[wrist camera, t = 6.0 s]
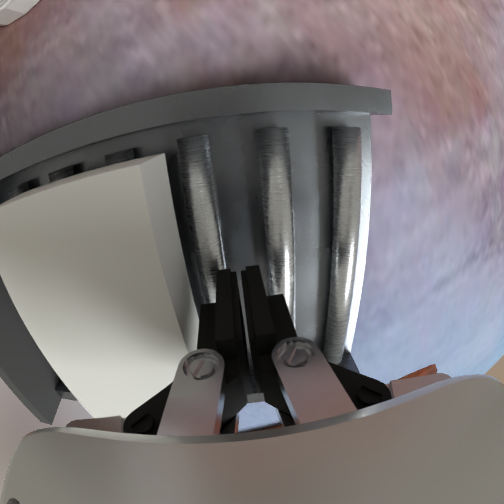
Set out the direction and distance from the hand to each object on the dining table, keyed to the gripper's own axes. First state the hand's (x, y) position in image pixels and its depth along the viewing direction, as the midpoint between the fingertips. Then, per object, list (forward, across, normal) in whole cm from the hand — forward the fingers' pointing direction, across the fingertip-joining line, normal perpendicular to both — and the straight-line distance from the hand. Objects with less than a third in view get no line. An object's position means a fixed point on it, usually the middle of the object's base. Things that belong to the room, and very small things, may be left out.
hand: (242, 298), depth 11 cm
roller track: (+3, +5, 0) cm, 5 cm away
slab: (0, +6, 0) cm, 6 cm away
